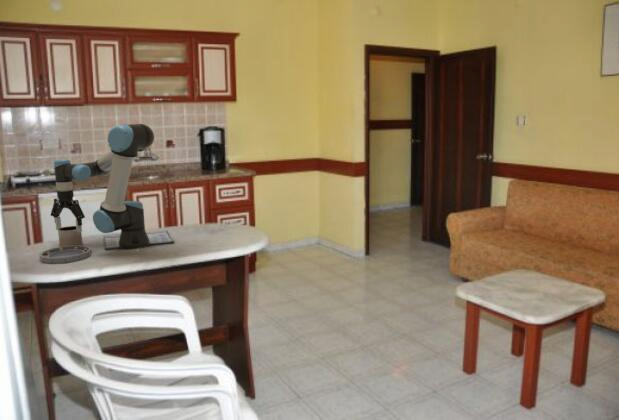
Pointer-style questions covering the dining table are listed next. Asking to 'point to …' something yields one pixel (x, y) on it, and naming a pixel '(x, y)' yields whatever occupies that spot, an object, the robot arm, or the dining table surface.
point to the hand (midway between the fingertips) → (69, 230)
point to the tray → (65, 254)
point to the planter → (69, 236)
